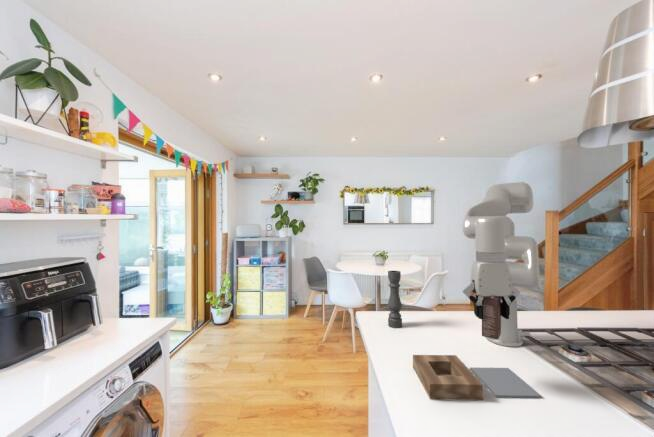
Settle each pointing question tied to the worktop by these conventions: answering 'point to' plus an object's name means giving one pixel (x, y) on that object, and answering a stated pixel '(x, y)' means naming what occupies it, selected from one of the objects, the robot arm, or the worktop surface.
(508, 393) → the mat
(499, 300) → the box
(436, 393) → the pocket block
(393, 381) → the worktop surface
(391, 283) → the candle holder
